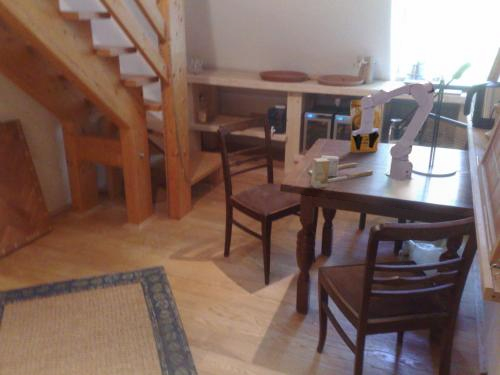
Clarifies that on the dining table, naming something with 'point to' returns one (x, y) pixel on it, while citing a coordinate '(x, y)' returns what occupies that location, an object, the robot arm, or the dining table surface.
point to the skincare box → (320, 172)
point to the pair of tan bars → (354, 173)
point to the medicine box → (332, 165)
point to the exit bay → (333, 178)
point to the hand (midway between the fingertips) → (364, 148)
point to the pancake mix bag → (356, 124)
